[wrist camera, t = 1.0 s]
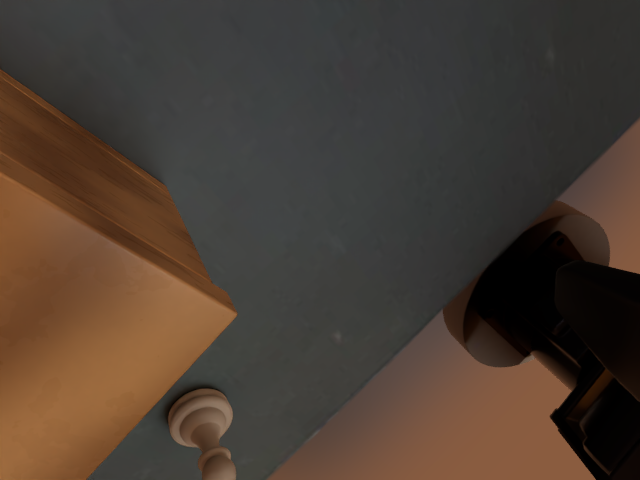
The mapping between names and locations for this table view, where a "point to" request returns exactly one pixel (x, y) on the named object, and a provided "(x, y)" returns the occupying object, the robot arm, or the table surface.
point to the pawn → (204, 430)
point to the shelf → (87, 293)
